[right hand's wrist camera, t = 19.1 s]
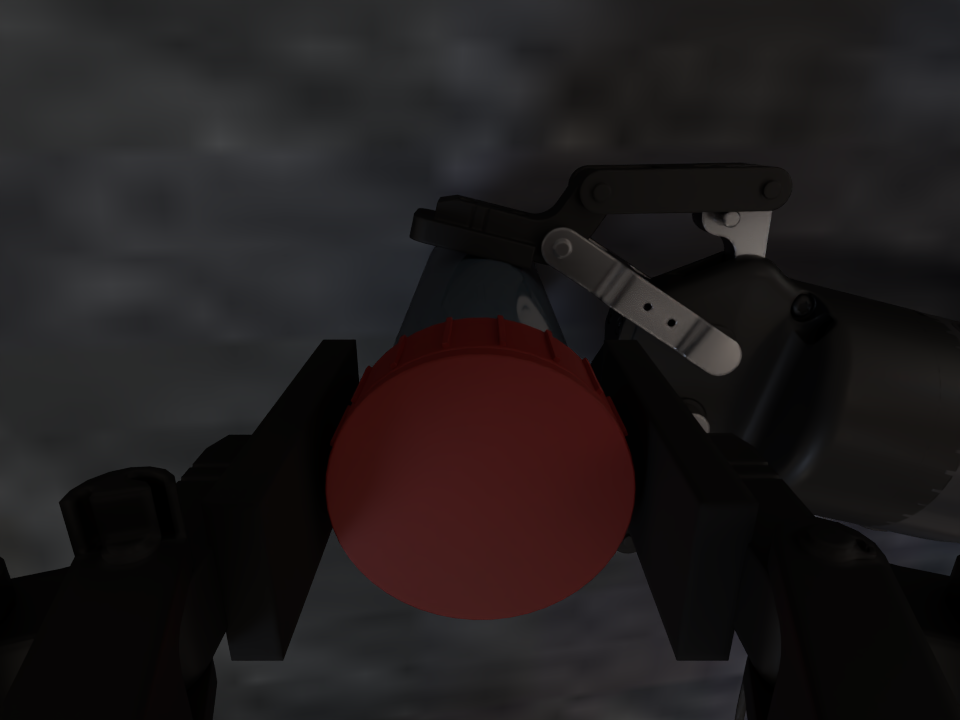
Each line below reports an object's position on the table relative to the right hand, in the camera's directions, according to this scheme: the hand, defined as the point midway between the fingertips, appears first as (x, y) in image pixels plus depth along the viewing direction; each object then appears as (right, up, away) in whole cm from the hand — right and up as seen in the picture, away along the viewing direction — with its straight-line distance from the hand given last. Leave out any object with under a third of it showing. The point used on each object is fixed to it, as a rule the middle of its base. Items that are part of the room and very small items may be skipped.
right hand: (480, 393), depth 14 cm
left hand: (-3, +3, +5) cm, 6 cm away
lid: (0, -1, -4) cm, 4 cm away
